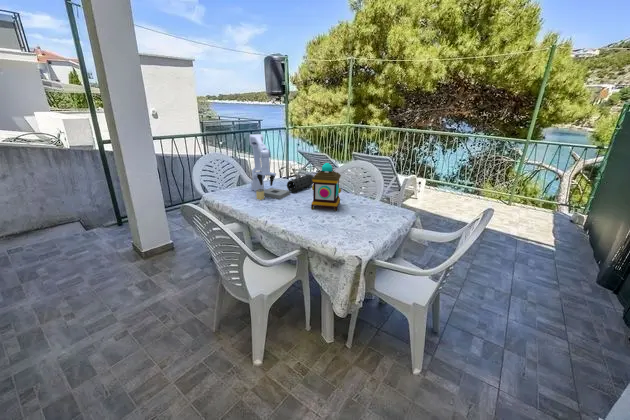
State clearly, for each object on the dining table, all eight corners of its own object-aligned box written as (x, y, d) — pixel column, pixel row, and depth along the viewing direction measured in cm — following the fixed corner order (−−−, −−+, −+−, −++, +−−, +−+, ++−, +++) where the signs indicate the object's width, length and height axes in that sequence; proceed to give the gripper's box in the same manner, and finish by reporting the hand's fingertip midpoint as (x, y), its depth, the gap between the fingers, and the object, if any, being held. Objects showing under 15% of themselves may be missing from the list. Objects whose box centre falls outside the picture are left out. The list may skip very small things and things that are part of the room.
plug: (256, 199, 203) (256, 190, 200) (260, 197, 206) (259, 188, 204) (261, 200, 201) (260, 190, 199) (264, 198, 204) (264, 189, 202)
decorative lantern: (338, 212, 179) (340, 166, 169) (308, 210, 183) (309, 164, 173) (341, 202, 198) (344, 160, 187) (314, 200, 201) (315, 159, 191)
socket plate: (260, 195, 211) (260, 192, 210) (271, 191, 222) (270, 187, 221) (279, 199, 203) (279, 195, 202) (290, 194, 215) (290, 190, 214)
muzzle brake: (286, 192, 221) (286, 179, 218) (306, 185, 243) (306, 173, 240) (296, 193, 216) (295, 180, 213) (315, 186, 238) (315, 174, 235)
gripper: (253, 167, 195) (254, 185, 200) (273, 168, 193) (273, 187, 197) (257, 165, 202) (258, 183, 206) (276, 166, 199) (277, 184, 204)
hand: (266, 185), depth 202 cm, fingers open, 7 cm apart
